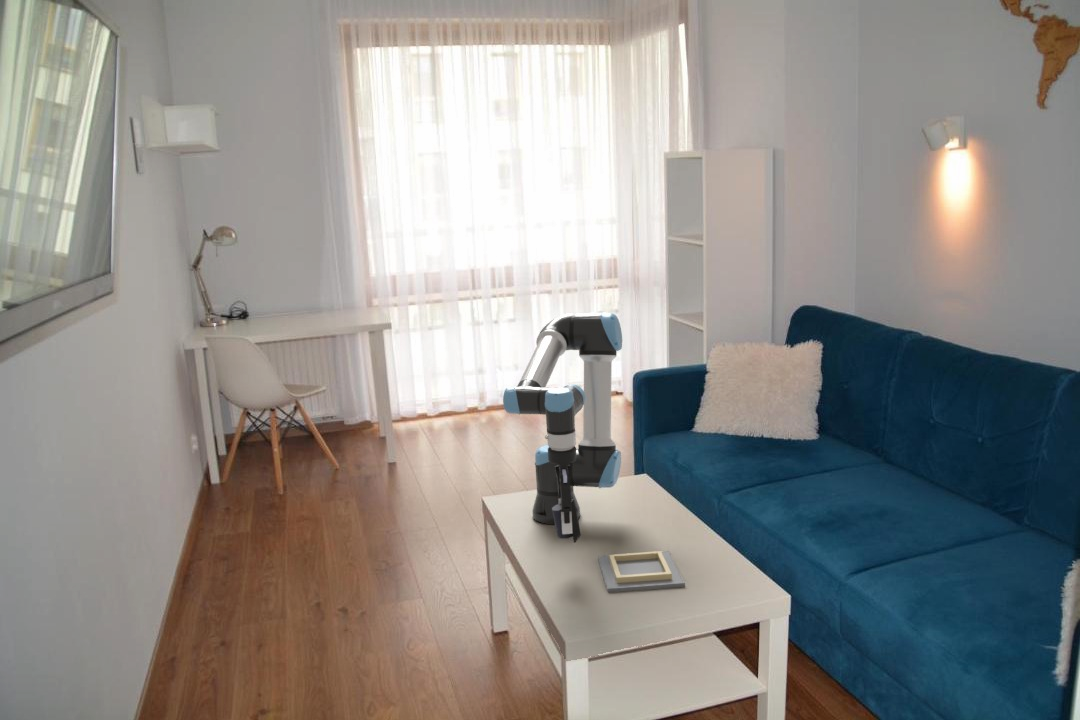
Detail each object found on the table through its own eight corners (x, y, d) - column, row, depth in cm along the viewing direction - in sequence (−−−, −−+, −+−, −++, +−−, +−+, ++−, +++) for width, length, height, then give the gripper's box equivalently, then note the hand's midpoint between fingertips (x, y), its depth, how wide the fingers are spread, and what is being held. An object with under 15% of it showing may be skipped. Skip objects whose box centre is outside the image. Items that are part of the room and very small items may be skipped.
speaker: (587, 534, 233) (581, 498, 231) (575, 543, 229) (568, 506, 227) (565, 531, 238) (559, 495, 236) (553, 539, 234) (546, 503, 232)
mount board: (598, 559, 240) (597, 551, 240) (669, 554, 241) (668, 546, 241) (607, 592, 221) (607, 583, 220) (684, 586, 222) (684, 577, 221)
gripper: (545, 436, 238) (549, 513, 243) (550, 459, 218) (555, 543, 223) (572, 434, 238) (575, 511, 243) (579, 457, 218) (583, 541, 223)
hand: (565, 527), depth 233 cm, fingers closed on speaker, 8 cm apart
